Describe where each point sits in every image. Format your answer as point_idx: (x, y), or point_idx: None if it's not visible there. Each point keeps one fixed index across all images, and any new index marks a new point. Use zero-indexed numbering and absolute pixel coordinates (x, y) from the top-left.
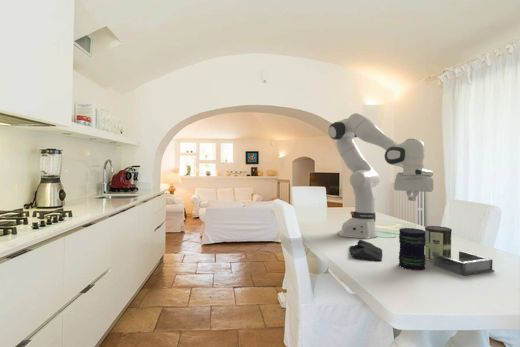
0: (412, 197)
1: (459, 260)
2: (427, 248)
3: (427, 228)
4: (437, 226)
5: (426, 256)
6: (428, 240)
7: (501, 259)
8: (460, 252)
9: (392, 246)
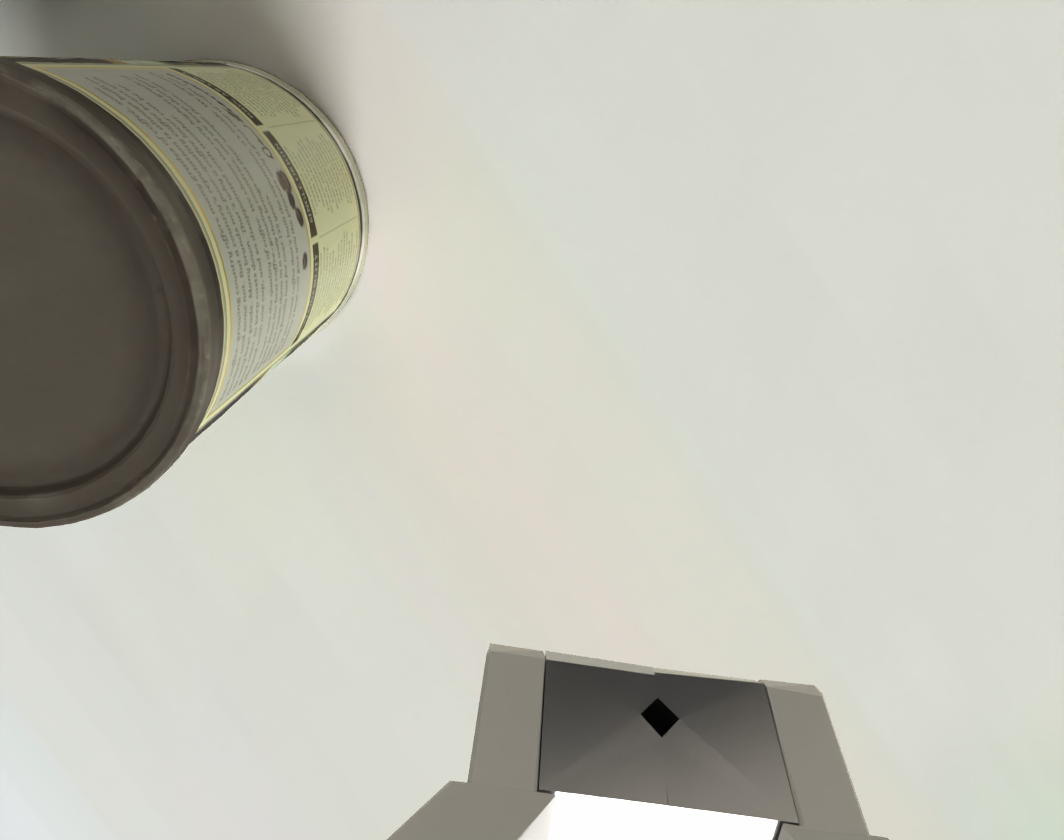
0: (502, 755)
1: None
2: (195, 70)
3: (4, 66)
4: (120, 478)
5: (265, 82)
6: (110, 62)
7: (22, 777)
8: None
9: (941, 264)
